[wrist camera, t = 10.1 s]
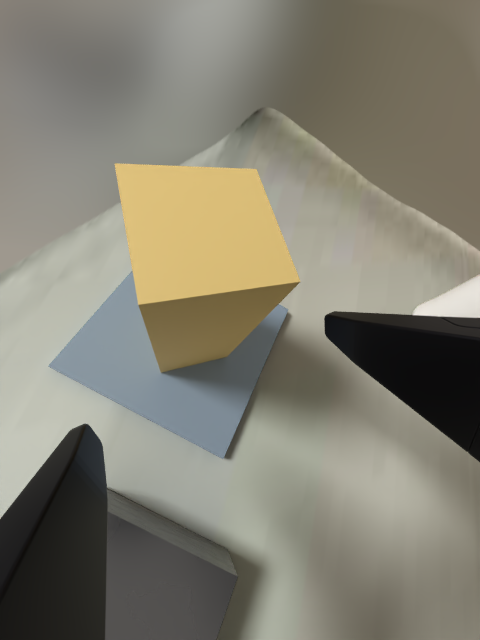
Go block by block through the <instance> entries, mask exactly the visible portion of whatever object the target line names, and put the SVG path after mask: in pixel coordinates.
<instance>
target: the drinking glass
mask: <svg viewBox="0 0 480 640" xmlns="http://www.w3.org/2000/svg"><path fill="white" fill-rule="evenodd" d="M412 315H421V316H438V317H440V316H444V317H468V318H480V274H479V275H477V276H475V277H473V278H471V279H469V280H468V281H466V282H464V283H462V284H460V285H458V286H456V287H454V288H452V289H451V290H449V291H447V292H445V293H443V294H441V295H439V296H437V297H435V298H433V299H430V300H428V301H426V302H423V303H421V304H420V305H418V306H417V307H416V308H415V309H414V311H413V314H412Z"/></svg>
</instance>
